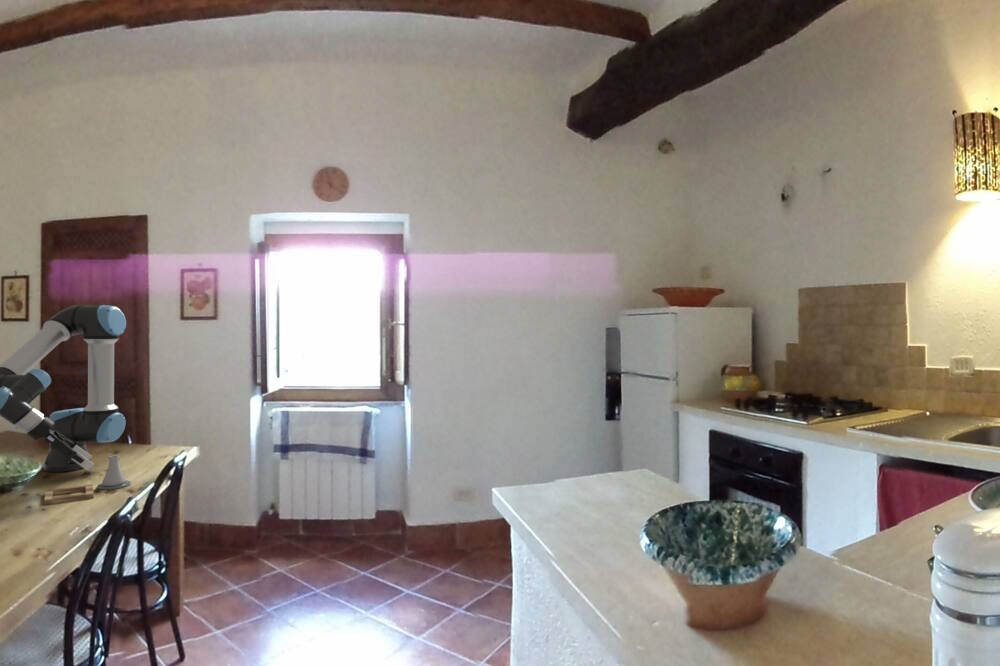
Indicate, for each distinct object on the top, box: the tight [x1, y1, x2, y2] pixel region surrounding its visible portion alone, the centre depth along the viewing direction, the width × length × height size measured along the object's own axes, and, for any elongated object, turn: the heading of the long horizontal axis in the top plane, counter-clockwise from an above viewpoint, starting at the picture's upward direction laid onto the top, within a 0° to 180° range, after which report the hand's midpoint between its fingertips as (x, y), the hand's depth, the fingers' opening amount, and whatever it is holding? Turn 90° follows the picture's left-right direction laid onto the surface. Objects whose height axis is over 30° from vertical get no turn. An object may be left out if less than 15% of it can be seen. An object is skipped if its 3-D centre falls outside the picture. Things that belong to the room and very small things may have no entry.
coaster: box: [96, 479, 132, 491], centre depth 212 cm, size 10×10×1 cm
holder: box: [44, 484, 95, 506], centre depth 199 cm, size 13×13×2 cm
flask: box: [100, 455, 127, 486], centre depth 212 cm, size 7×7×10 cm
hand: (90, 463), depth 207 cm, fingers open, 13 cm apart
